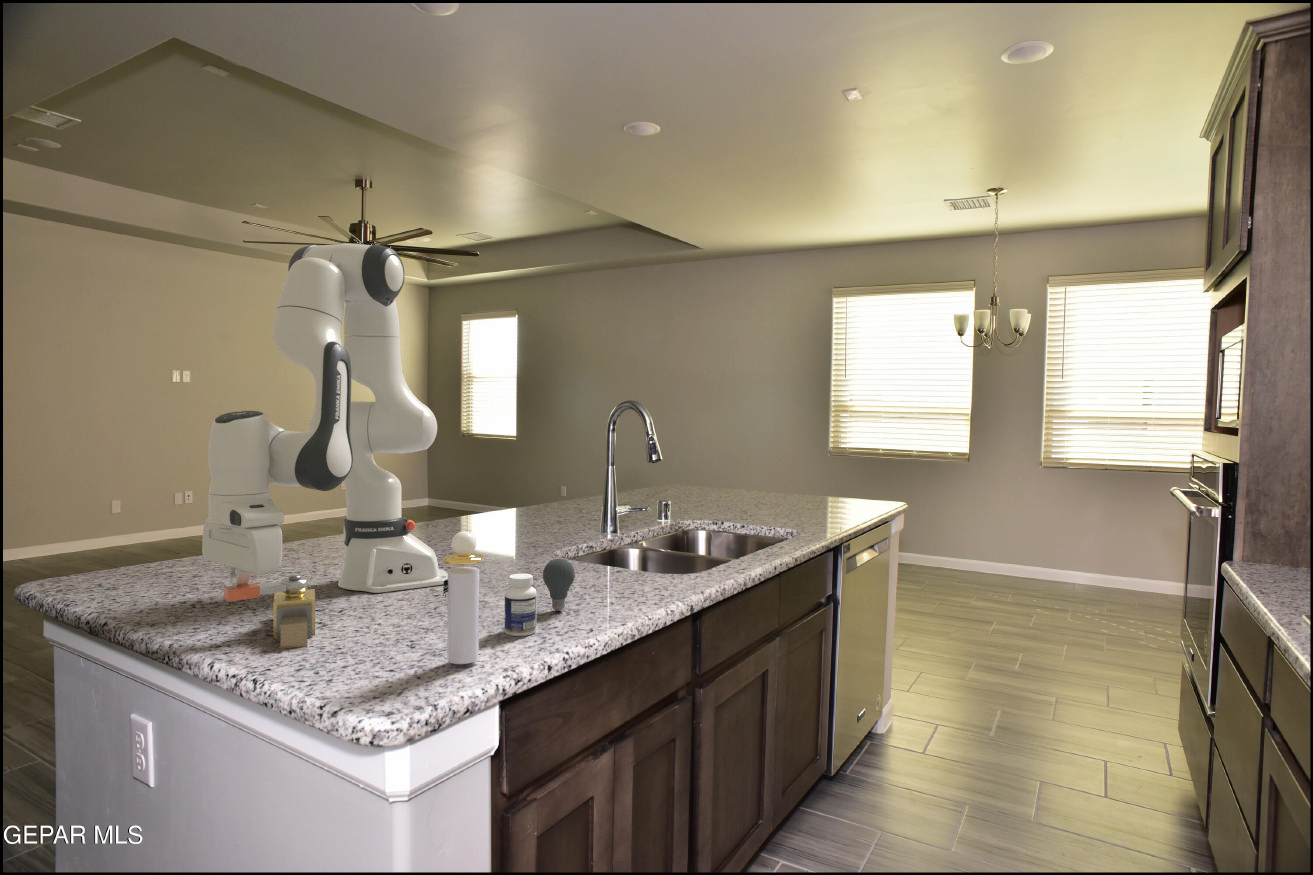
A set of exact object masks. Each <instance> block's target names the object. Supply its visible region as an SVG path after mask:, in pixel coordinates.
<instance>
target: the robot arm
mask: <svg viewBox="0 0 1313 875" xmlns="http://www.w3.org/2000/svg"><path fill="white" fill-rule="evenodd" d="M287 269H288V272H287V275H286V277H285V280H284V282H283V283H282V284H283V285H282V287H281V290H280V294H279V297H278V300H277V304H276V309H275V312H274V316H273V323H272V341H273V343H274V345H275V347H276V348H277V350H278V351H279V353H280V354H281V355H282V356H283V357H285V359H287V360H288V361H290V362H292V363H294V364H296V365H297V366H300V367H302V368H304V369H306V370H307V371H308V372H310V374H311V375H312V377H313V378H314V380H315V381H314V382H315V403H314V404H315V407H314V408H315V410H314V411H313V413H312V415H311V417H310V419H309V426H308V428H309V429H308V430H309V431H298V430H297V431H296V430H295V431H292V430H286V429H285V428H282V427H280V426H278V425H276V424H274V423H273V422H271V421H270V420H268V418H266V415H265V413H264V412H262V411H258V410H242V411H232V412H227V413H223V414H220V415H218V416H217V417H215V418H214V419H213V421H212V424H211V426H210V431H209V436H208V448H207V451H208V452H207V464H208V470H209V473H210V485H209V488H208V489H207V490H208V491H207V492H208V493H207V494H208V495H207V496H208V499H207V501H208V502H207V504H208V505H207V506H208V510H207V511H208V514H207V515H208V517H207V518H205V520H204V523H203V529H202V546H201V547H202V548H201V551H202V556H203V558H204V560H206V561H210V562H213V563H216V564H220V565H223V566H226V567H227V574H228V577H229V580H230V583H231V586H236V585H244V584H250V580H251V577H252V574H253V575H256V576H262V575H268V574H269V575H270V574H274V573H277V572H278V571H279V570H280V568H281V566H282V559H283V532H282V528H281V526H280V525H283V524H284V523H285V512H284V510H282V509H281V508H280V507H279V506H278V505H276V503H275V502H274V500H273V499H271V493H270V492H271V488H270V485H274V486H283V487H296V488H297V487H298V488H305V489H311V490H315V491H321V492H329V491H331V490H334V489H336V488H337V487H338V486H340V485H341V484H342V483H344V491H345V505H346V506H345V508H346V509H345V510H346V513H345V514H346V515H345V516H346V518H345V519H343V520H344V522H343V543H344V557H343V563H342V567H341V568H342V569H341V572H340V575H339V576H340V577H339V580H338V583H337V586H338V587H339V588H342V589H345V590H350V591H362V592H368V593H371V594H372V593H373V594H379V593H388V592H395V591H401V590H410V589H411V590H412V589H417V588H425V587H433V586H439V585H441V586H443V582H444V581H445V580H447V579H448V571H446V570H444V569H442V568H439V563H438V558H437V554H436V553H435V551H434V550H433V548H431V546H429V545H427V544H426V543H425V542H423V541H422V540H420V539H419V538H418V537H416V536H415V535H413V534H412V531H414V530H415V529H416V527H417V526H416V523H415V522H414V521H413V520H411V519H409V518H406V517H405V516H402V500H403V499H402V492H403V491H402V484H401V481H400V479H399V478H398V477H397V476H396V475H395V474H393V473H392V472H390V471H389V470H387V469H384V468H382V467H380V466H379V465H378V464H377V463H376V462H375V458H374V454H409V453H415V452H420V451H421V452H422V451H425V450H428V449H429V448H430V447H431V446H432V445H433V444H434V442H435V439H436V437H437V435H438V434H437V433H438V421H437V419H436V415H435V414H434V412H433V411H432V410H431V409H430V408H429V406H427V405H426V404H425V403H423V402H422V401H420V400H419V399H418V398H417V397H416V395H415V394H414V393H413V391H412V390H411V388H410V387H409V385H408V384H407V381H406V379H405V375H404V371H403V365H402V356H401V355H402V353H401V352H402V351H401V333H400V332H401V328H400V317H399V311H398V306H397V302H396V301H397V300H396V298H397V297H398V296H399V294H400V293H401V290H402V289H403V286H404V284H405V283H404V282H405V268H404V264H403V261H402V259H401V257H400V256H399V254H398V253H397V252H396V250H394V249H393V248H390V247H387V246H384V245H379V244H372V245H370V244H363V243H348V242H347V243H345V242H343V243H339V244H336V243H335V244H325V245H318V244H311V245H306V246H303V247H300V248H298V249H297V250H295V252H294V253H293V254H292V256H291V258H290V260H289V262H288V268H287ZM342 325H343V342H342V336H341V335H342ZM352 380H353V381H355V382H356V383H359V384H360V385H363V387H366V388H369V390H370V391H371V392H372V394H373V396H374V399H375V400H373V401H355V400H353V401H351V400H352Z"/></svg>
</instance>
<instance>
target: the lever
mask: <svg viewBox="0 0 1313 875" xmlns="http://www.w3.org/2000/svg"><path fill="white" fill-rule="evenodd" d="M308 581H309V579H308V577H306V576H305V577H304V576H301V575H300V574H293V575H292V574H291V575H289V576H288V577H287V578H283V579H281V581H277V582H276V581H275V582H269V583H268V582H267V583H263V584H257V583H256V582H254V583H248V584H244V585H236V586H232V585H230V586H224V587H223V599H224V600H226V602H228V603H229V602H236V601H243V600H244V601H245V600H250V599H256V598H261V596H262V595H269V594H275V593H277V592H283V593H299V592H304V591H306V590H308V589H309V585H308V584H309V582H308Z"/></svg>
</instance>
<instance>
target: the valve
mask: <svg viewBox="0 0 1313 875" xmlns="http://www.w3.org/2000/svg"><path fill="white" fill-rule="evenodd" d="M272 604H273V606H272V607H273V608H272V609H273V610H272V611H273V612H272V613H273V614H272V616H273V617H272V618H273V620H272V621H273V626H272V627H273V628H272V629H273V634H272V635H273V639H274V640H276V642H280V650H286V649H292V648H293V649H294V648H301V647H302V648H304V647H308V639H309V638H310V639H311V638H313V635H316V592H315V589H314V588H310V589H309V588H308V590H306V591H304V592H299V593H283V592H277V593H274V597H273V602H272Z"/></svg>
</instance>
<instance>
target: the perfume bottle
mask: <svg viewBox="0 0 1313 875" xmlns="http://www.w3.org/2000/svg"><path fill="white" fill-rule="evenodd" d="M450 545H451V549H452V551H453V554H452V553H451V554H448V555H445V556H443V563H445V564H448V565H452V566H455V565H457V566H459V567H453V568H450V569H448V570H447V573H448V579H447V580H445V581H444V582H443V584H442V586H443V594H442V595H443V598H442V599H443V601H444V598H447V620H446V621H447V626H446V628H447V632H446V633H447V635H446V636H447V638H446V640H447V644H446V645H447V646H446V647H447V649H446V651H447V653H446V654H447V657H446V658H447V662H448V663H450V664H455V665H464V664H471V663H473V662H474V663H475V662H476V661H478V659H479V654H480V653H479V646H480V645H479V641H480V638H479V635H480V634H479V633H480V632H479V628H480V625H479V624H480V623H479V622H480V619H479V618H480V600H479V599H480V569H479V568H477V567H473V566H466V565H476V564H479V563H482V562H484V555H483V554H479V553H474V552H475V550H476V547H477V539H476V537H475V536H474V535H473V533H471V532H470V531H467V530H466V531H459V532H457V533H456V534H455V535H453V537H452V539H451V544H450ZM463 565H465V566H463ZM446 593H447V594H446ZM446 595H447V596H446Z"/></svg>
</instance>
